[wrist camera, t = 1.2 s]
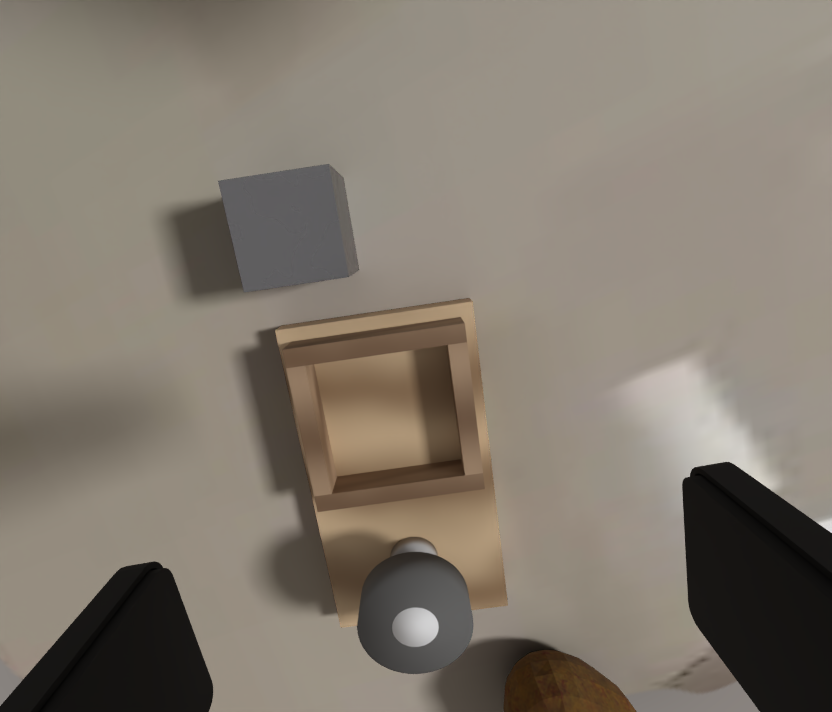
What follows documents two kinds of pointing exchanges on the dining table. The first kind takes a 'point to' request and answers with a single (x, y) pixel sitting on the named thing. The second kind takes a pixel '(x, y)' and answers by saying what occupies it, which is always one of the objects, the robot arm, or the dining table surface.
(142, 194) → the dining table surface
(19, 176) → the dining table surface
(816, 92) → the dining table surface
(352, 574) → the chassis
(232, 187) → the grey stone cube
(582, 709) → the potato
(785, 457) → the dining table surface
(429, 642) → the wheel
